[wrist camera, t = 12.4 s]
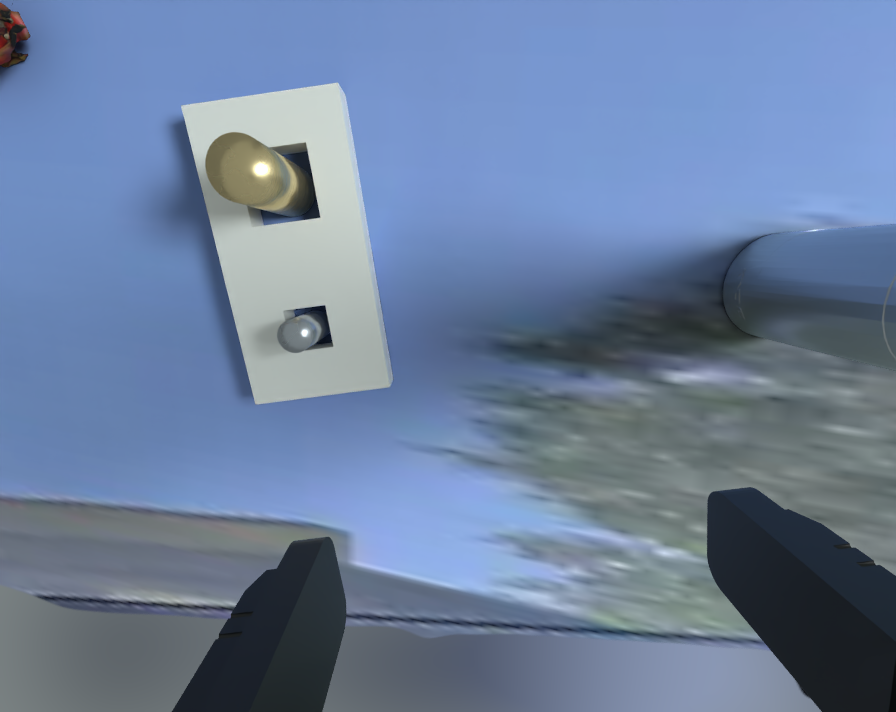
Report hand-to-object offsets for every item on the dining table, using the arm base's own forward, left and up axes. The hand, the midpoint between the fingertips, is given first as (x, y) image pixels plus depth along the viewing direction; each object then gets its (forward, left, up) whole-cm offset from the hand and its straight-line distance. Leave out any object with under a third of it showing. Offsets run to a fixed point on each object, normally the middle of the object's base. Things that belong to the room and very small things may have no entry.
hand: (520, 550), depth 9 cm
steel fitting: (+13, -2, -30) cm, 33 cm away
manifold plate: (+13, -8, -30) cm, 34 cm away
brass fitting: (+13, -14, -30) cm, 35 cm away
